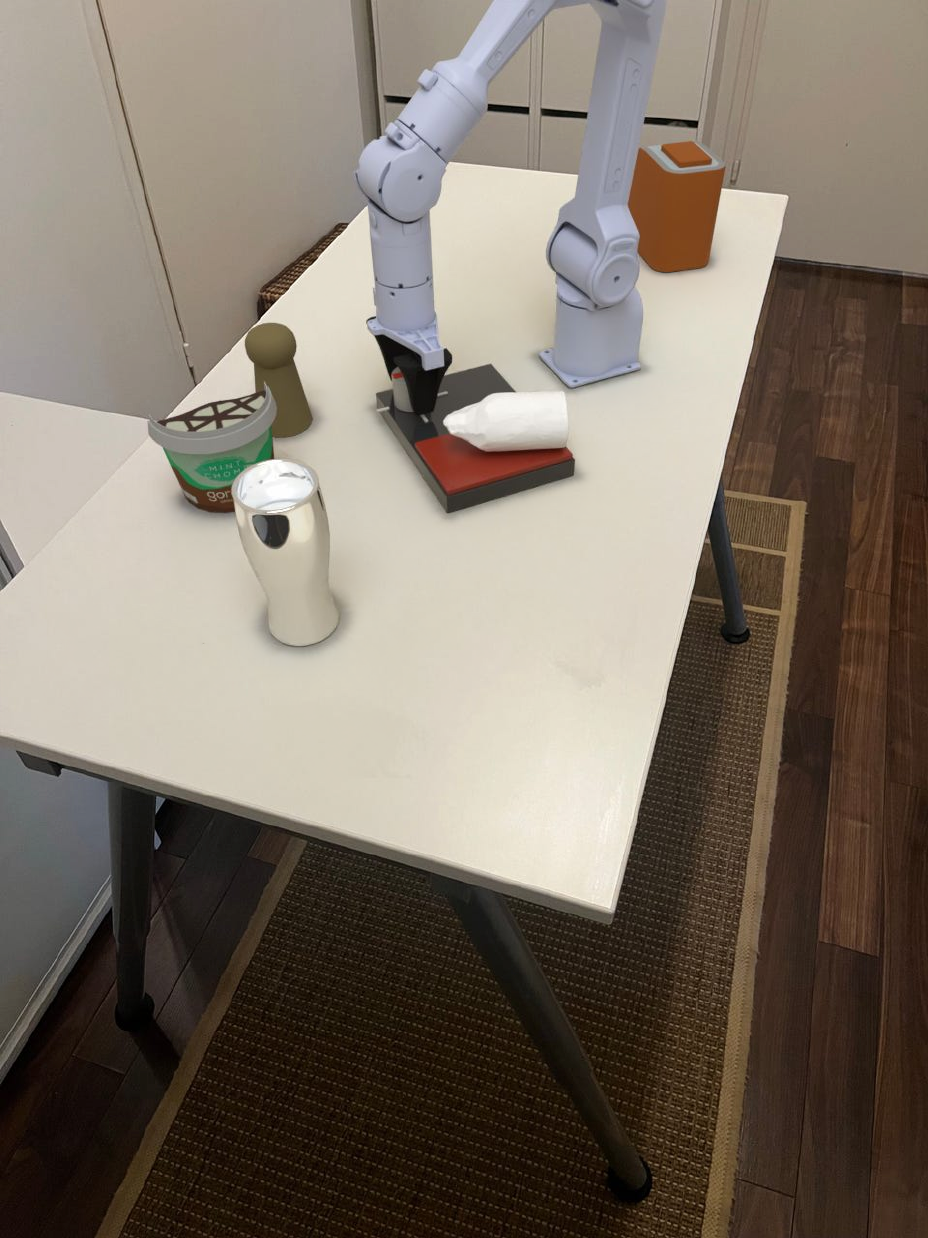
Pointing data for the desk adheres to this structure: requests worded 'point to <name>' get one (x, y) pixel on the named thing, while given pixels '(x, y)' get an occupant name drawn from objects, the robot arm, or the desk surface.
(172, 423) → the food container
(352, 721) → the desk surface
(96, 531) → the desk surface
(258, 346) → the olive pawn
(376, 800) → the desk surface
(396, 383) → the hob knob
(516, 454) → the plate
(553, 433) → the white bottle
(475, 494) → the hob
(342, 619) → the desk surface
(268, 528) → the beer glass
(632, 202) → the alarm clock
